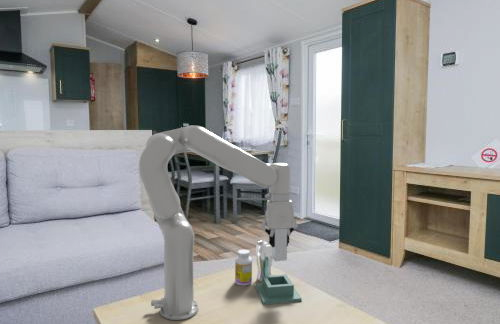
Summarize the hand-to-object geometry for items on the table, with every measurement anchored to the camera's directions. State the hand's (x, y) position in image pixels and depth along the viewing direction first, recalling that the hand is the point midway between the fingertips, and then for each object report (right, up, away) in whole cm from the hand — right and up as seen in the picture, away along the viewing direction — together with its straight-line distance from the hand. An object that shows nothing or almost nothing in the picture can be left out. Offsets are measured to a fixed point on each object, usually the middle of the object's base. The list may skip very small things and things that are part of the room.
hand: (279, 245), depth 132 cm
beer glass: (-5, -17, +14) cm, 23 cm away
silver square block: (0, -5, +1) cm, 5 cm away
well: (-1, -19, +2) cm, 19 cm away
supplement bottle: (-13, -18, +11) cm, 25 cm away
